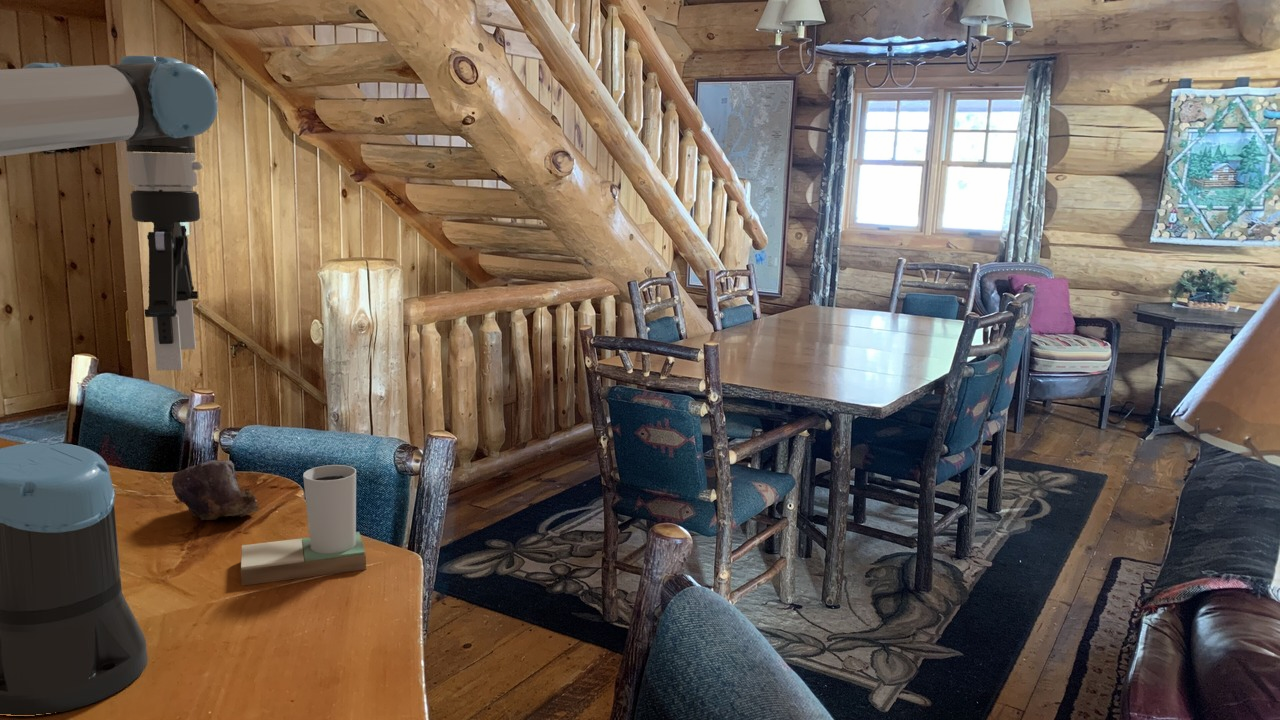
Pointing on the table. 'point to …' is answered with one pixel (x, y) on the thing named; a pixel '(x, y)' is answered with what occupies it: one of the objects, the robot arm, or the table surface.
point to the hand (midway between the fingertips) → (177, 359)
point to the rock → (213, 491)
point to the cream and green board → (296, 561)
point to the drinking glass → (331, 507)
